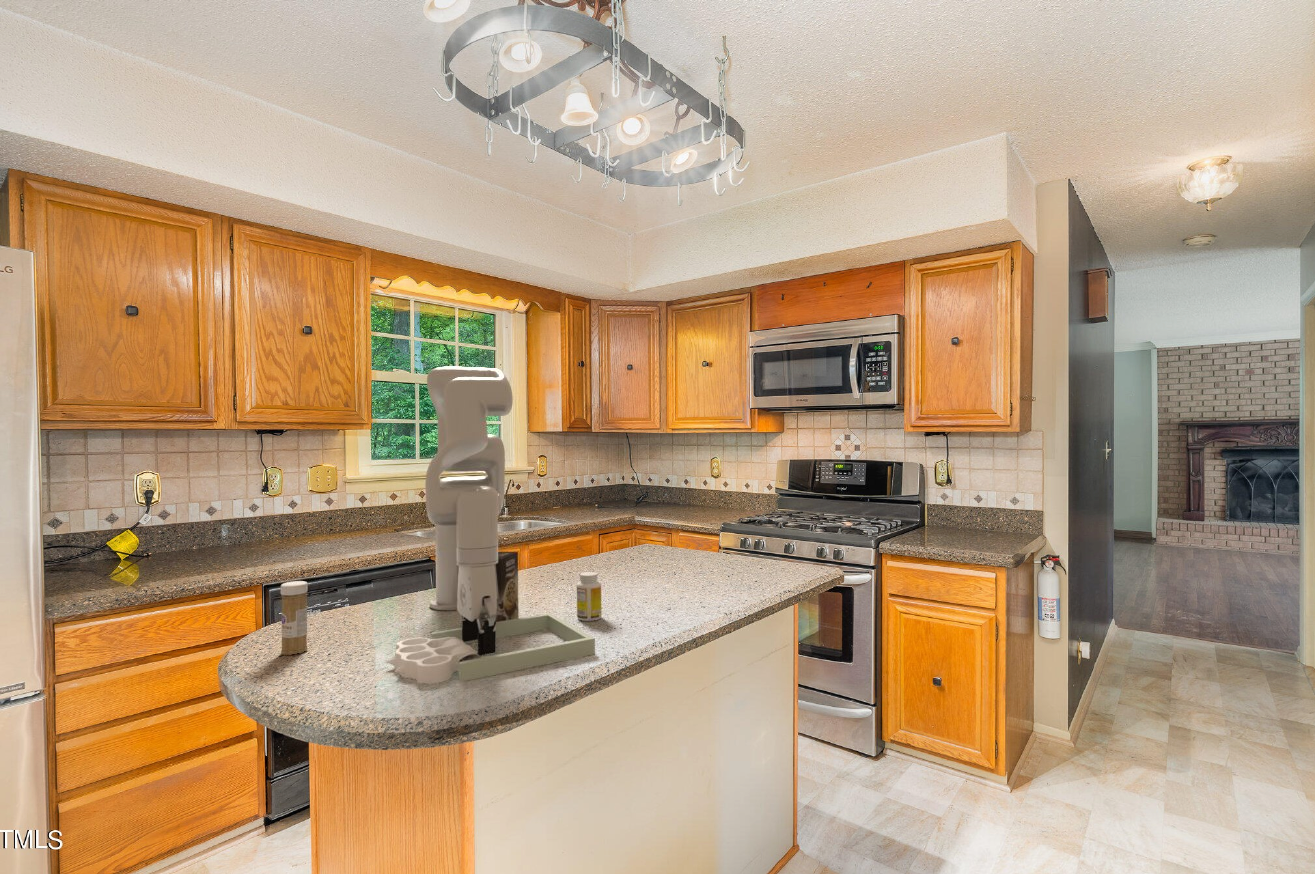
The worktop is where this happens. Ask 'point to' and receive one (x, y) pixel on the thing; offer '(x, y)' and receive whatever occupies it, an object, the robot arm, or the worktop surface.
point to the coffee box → (506, 586)
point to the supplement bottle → (588, 597)
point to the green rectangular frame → (517, 660)
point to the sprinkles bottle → (294, 617)
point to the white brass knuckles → (431, 658)
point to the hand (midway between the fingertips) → (478, 646)
